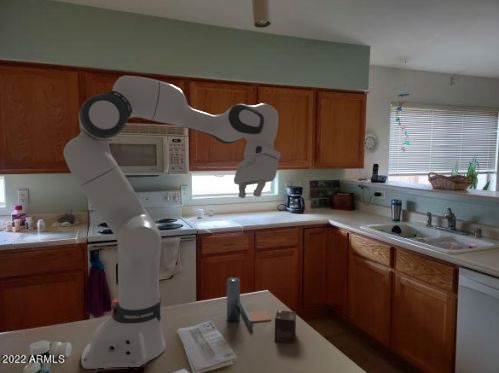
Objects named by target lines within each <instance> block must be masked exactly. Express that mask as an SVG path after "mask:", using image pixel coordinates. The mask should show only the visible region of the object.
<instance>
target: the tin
mask: <svg viewBox="0 0 499 373" xmlns="http://www.w3.org/2000/svg"><path fill="white" fill-rule="evenodd" d="M240 299H241V279H240V278H239V277H229V278H227V279H226V321H227V322H228V323H232V324H233V323H238V322H239V321H240V320H241V318H240V317H241V311H240Z"/></svg>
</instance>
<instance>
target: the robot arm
mask: <svg viewBox="0 0 499 373" xmlns="http://www.w3.org/2000/svg"><path fill="white" fill-rule="evenodd" d="M277 110H278V109H276V108H274V107H273V106H272V105H270V104H267V103H259V104H256V105H248V104H244V103H237V104H235V105H233V106H231V107H230V108H228V109H227V110H226V111H225V112H224V113H221V114H215V115H214V114H210V113H207V112H204V111H201V110H197V109H194V108H192V107H191V106H190V105H189V104H188V101H187V98H186V96H185V94H184V92H183V91H182V90H181V88H179V87H177V86H175V85H173V84H170V83H168V82H165V81H161V80H157V79H154V78H149V77H143V76H137V75H136V76H135V75H122V76H120V77H119V78H117V79H116V81H115V82H114V84H113V86H112V90H109V91H106V92H104V93H99V94H95V95H93V96H90V97H89V98H87V99H86V100H85V101H84V102H83V103H82V105H81V107H80V110H79V111H78V112H79V113H78V122H79V134H78V135H77V136H76V137H73V138H72V139H70V140H69V141H68V142H67V143H66V144H65V146H64V148H63V151H62V152H63V158H64V159H65V162H66V165H67V167H68V169H69V170H70V173H71V175H72V176H73V178H74V180H75V182H76V183H77V185H78V186H79V188H80V190H81V191H82V192H83V194H84V196H86V198H87V200H88V201H89V203H90V204H91V206H92V208H93V209H94V211H96V213H97V214H98V215H99V216H100V218H101V219H102V220H103V221H104V223H105V224H106V225H107V227H108V228H109V229H110V230H111V232H112V233H113V235H114V236H115V238H116V242H117V285H118V287H117V288H118V289H117V290H118V292H117V293H118V299H113V300H112V301H111V305H110V306H111V310H110V314H111V316H110V317H109V318H107V319H106V320H104V322H102V323H101V324H100V325H98V326H97V328H96V329H95V331H93V334H92V336H91V339H90V342H89V343H88V344H87V345H86V346H85V348H84V349H83V350H82V353H81V358H80V359H81V360H80V363H81V366H82V368H83V369H87V370H88V369H89V370H91V369H93V370H95V369H98V368H104V367H105V368H104V369H108V368H107V367H127V366H136V367H137V366H141V365H143V364H144V365H146V364H147V363H148V362H149V361H151V360H153V359H155V358H157V357H159V356H160V355H161V354H162V353H163V352H164V351H165V350H166V347H167V344H166V340H165V337H164V334H163V330H162V329H163V328H162V322H161V321H162V320H161V319H162V310H163V309H162V300H161V298H160V265H161V252H162V250H161V248H162V234H161V231H160V229H159V228H158V227H157V225H156V223H155V222H154V220H153V218H152V217H151V216H150V214H149V212H148V211H147V210H146V207H145V206H144V205H143V203H142V202H141V200H140V198H139V197H138V194H137V193H136V192H135V189H134V188H133V186H132V184H131V183H130V182H129V180H128V179H127V177H126V175H125V174H124V172H123V171H122V169H121V167H120V166H119V164H118V162H117V161H116V159H115V158H114V156H113V155H112V153H111V151H110V146H109V145H110V141H112V140H113V139H116V137H118V136H119V135H120V134H121V133H122V131H123V130H124V129H125V127H126V125H127V123H128V121H129V119H131V118H141V119H146V120H149V121H153V122H157V123H158V122H159V123H162V124H163V123H164V124H170V125H173V126H174V125H175V126H179V127H183V128H186V129H188V130H192V131H195V132H200V133H202V134H206V135H209V136H210V137H212V138H214V139H215V140H216V141H218V142H220V143H222V144H224V145H231V144H235V143H236V142H237V141H238V140H240V139H245V140H246V144H245V146H244V152H243V159H242V161H241V162H239V163H238V165H237V168H236V171H235V174H234V178H233V183H234V184H235V185H237V186H238V191H239V192H238V198H241V199H244V198H246V196H247V192H246V189H247V186H251V185H257V186H256V188H255V189H254V190H253V196H254V197H261V196H262V192H263V190H264V189H265V186H266V183H270V182H273V181H274V179H275V178H276V176H277V171H278V167H279V160H280V159H281V152H279V151H278V150H275V149H274V148H275V146H274V144H275V143H274V141H275V139H276V138H277V134H278V128H279V120H280V118H279V113H278V111H277ZM144 365H143V366H144Z"/></svg>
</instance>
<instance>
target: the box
mask: <svg viewBox="0 0 499 373" xmlns="http://www.w3.org/2000/svg"><path fill="white" fill-rule="evenodd" d="M296 318H297V312H296V311H291V310H289V311H288V310H276V313H275V318H274V342H279V343H287V344H288V343H289V344H295V341H296V333H297V332H296V331H297V329H296V328H297V327H296V326H297V325H296V322H297V319H296Z"/></svg>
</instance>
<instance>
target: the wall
mask: <svg viewBox="0 0 499 373" xmlns="http://www.w3.org/2000/svg"><path fill="white" fill-rule="evenodd" d="M248 312H249V311H248V308H247V307H246V305H245V303H244V301H243V300H240V314H241V315H242V317H243V319H244V321H245V324H246V325H247V327H248V329H249V331H251V330H253V326H254V324H253V320H252V318H251V316H250V315H249V313H248Z"/></svg>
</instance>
